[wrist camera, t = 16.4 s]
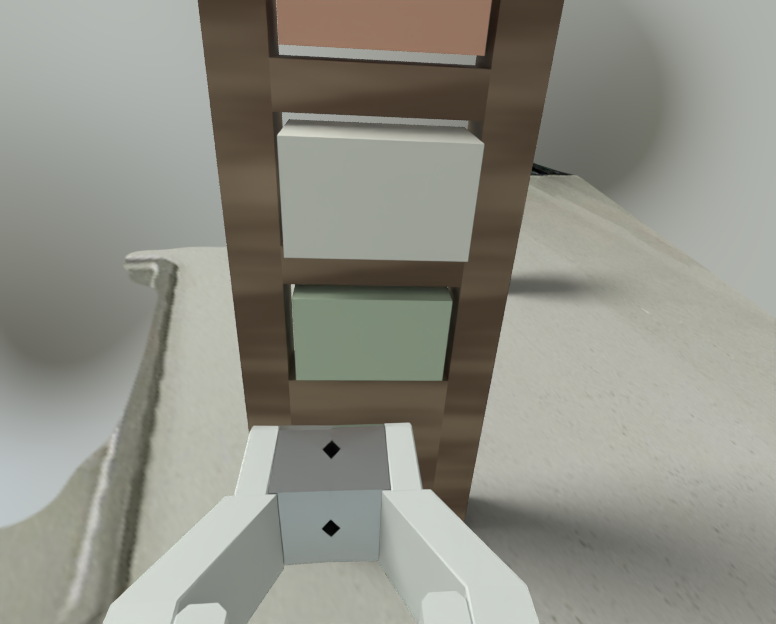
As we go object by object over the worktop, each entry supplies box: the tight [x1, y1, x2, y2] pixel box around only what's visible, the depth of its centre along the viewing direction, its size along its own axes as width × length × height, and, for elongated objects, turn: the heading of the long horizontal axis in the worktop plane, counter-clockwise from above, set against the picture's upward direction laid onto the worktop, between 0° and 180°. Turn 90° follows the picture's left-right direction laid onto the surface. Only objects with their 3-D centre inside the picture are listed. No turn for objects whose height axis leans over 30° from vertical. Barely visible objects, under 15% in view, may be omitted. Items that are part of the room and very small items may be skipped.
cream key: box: [277, 119, 484, 262], centre depth 22 cm, size 4×8×5 cm, turn 93°
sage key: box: [292, 284, 452, 381], centre depth 27 cm, size 4×8×5 cm, turn 94°
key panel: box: [198, 0, 564, 522], centre depth 26 cm, size 3×14×37 cm, turn 93°
